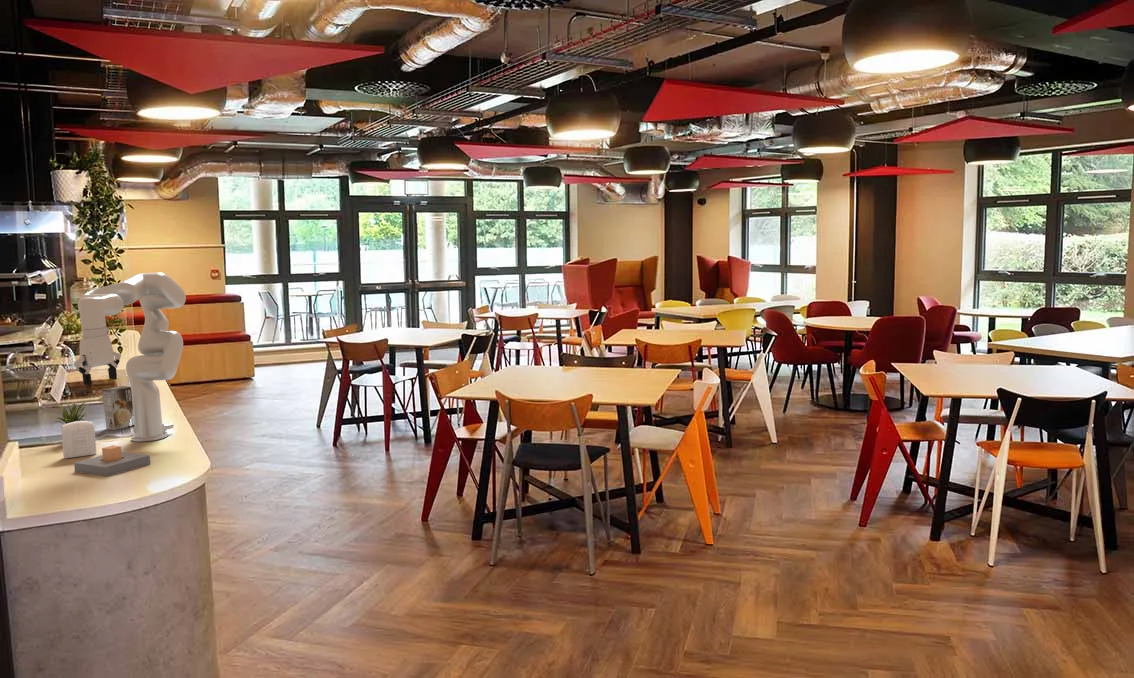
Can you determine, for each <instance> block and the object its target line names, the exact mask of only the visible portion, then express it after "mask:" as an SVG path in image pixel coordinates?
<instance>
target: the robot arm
mask: <svg viewBox="0 0 1134 678" xmlns="http://www.w3.org/2000/svg"><path fill="white" fill-rule="evenodd" d="M186 300H187V298H186V293H185V291H184V289H183V287H182V286H180V285H179V284H178V283H177V282H176V281H175V280H174V279H173V278H172V277H170V276H169V275H167V274H165V273H164V272H142V273H137V274H136V273H135V274H134V275H131V276H130V277H128V278H126V279H124V280H122V281H120V282H117V283H113V284H109V285H106V286H102V287H98V288H95V289H92V290H90V291H88V292H86V293H84V294H82V295H81V296H80V297H79V299H78V301H77V309H78V312H79V318H80V325H81V334H82V338H80V341H79V358H78V359H77V360H75V361H74V362H73V365H74V367H75V369H76V370H77V372H79V373H80V374H81V375H82V383H83V385H84V386H92V385H93V383H92V382H93V381H92V377H91V376H92V375H91V373H90V371H91V370H92V368H97V367H101V366H106V365H107V366H108V368H107V371H108V379H109V380H113V381H114V380H117V379H118V377H117V376H118V373H117V368H118V365H119V364H120V362H121V361H120V360H121V357H122V354H121V353H119V352H116V351H114V348H113V344H112V341H111V338H110V336H109V335H108V332H109V331H110V328H109V327H107V321H106V317H108V316H116V315H118V314H120V313H121V312H122V310H123V309H124V306H127V305H130V304H134V303H135V302H137V301H139V304H140V306H141V308H142V312H143V316H144V325H143V328H142V330H141V334H140V337H139V340H138V344H137V348H138V349H137V350H138V352H139V353H140V354H141V355H135V356H131V357H130V358H129V359H128V360H127V361H126V365H125V371H126V375H127V377H128V381H129V385H130V386H129V387H131V393H132V404H133V414H134V425H135V426H134V433H135V434H134V435H132V436H131V437H130V440H131V441H132V442H151V441H153V442H154V441H158V440H162V439H165V438H167V437H168V433H169V432H167V430H170V429H174V423H168V424H165V423H163V416H162V407H161V406H162V405H161V393H160V389H159V387H158V385H157V384H156V383H155V382H154V381H169V380H171V379H173V378H174V377H175V375H176V373H177V371H178V367H179V364H180V361H181V357H182V353H183V350H184V340H183V336H182V335H181V333H180V332H178V331H175V330H169V326H170V324H169V319H168V318H167V317H166V315H165V314H164V313H163V311H162V310H163V309H164V310H165V309H167V310H168V309H179V308H181V307H183V306H184V305H185V303H186Z"/></svg>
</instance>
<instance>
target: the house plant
mask: <svg viewBox="0 0 1134 678" xmlns="http://www.w3.org/2000/svg"><path fill="white" fill-rule="evenodd" d="M64 402H65V403H66V404H67V406H68V409H69V412H68V410H67V409H66V407H65V406H62V404H61V405H60V404H57V405H58V406H59V407H60V409H61V411H62V413H61V415H62V417H60V416H59V417H58V416H54V418H55V419H58V420H55V421H54V423H55V422H56V423H57V422H58V423H61V424H63V423H65V424H68V423H71V422H75V421H86V420H85V419H87V416H86V414H88V413H90V411H89V412H85V413H83V414H81V413H82V412H83V411H84V410H85V408H87V406H90V404H88V403H87V402H89V400H86V401H84V402H82V403H80V405H79V404H78V403H75V401H72V406H71V405H70V404H69V402H68V401H67V400H66V401H65V400H64ZM51 409H53V410H54V408H51ZM57 412H58V413H60V412H59V410H57ZM83 418H85V419H83Z"/></svg>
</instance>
